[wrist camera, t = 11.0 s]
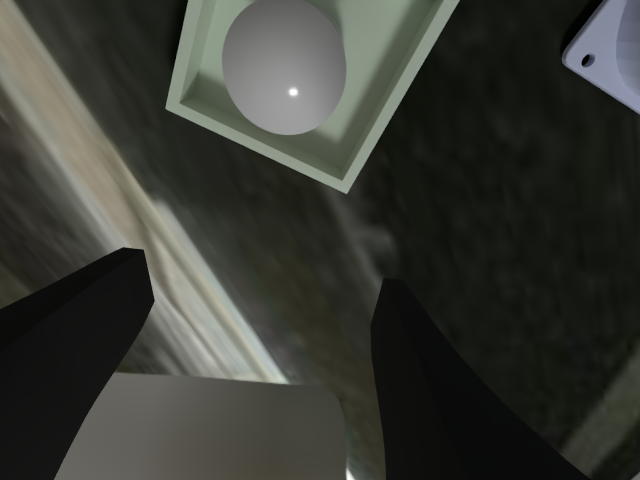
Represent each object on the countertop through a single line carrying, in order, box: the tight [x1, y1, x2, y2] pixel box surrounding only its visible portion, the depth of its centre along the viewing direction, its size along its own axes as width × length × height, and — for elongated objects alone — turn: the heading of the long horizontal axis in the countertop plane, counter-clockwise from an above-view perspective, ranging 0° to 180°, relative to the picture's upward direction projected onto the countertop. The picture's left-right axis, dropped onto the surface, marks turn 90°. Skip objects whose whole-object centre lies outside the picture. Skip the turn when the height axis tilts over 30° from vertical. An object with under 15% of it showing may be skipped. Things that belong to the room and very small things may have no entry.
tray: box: [165, 0, 459, 194], centre depth 14 cm, size 9×9×2 cm
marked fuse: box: [222, 0, 346, 135], centre depth 12 cm, size 4×4×6 cm
